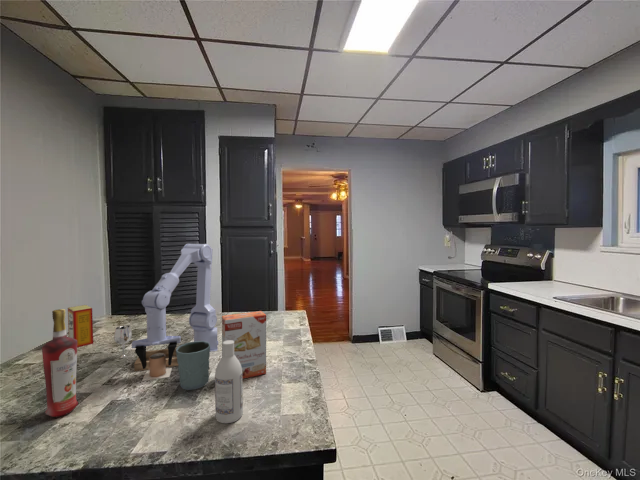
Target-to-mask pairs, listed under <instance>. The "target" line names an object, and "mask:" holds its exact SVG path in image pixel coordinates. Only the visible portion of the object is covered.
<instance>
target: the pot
mask: <svg viewBox="0 0 640 480" xmlns="http://www.w3.org/2000/svg"><path fill="white" fill-rule="evenodd" d="M166 369H167V367H166V355H165V354H164V353H157V354H153V355H151V356H150V357H149V370H148V371H149V376H150V377H159V376H162V375H164V374H165V373H166Z"/></svg>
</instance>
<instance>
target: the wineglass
mask: <svg viewBox="0 0 640 480" xmlns="http://www.w3.org/2000/svg"><path fill="white" fill-rule="evenodd" d="M132 336H133V333H132V329H131V326H130V325H121V326H120V325H119V326H117V327H115V328H114V334H113V339H114V342H115V343H116V344H118V345H121V348H122V355H121V356H120V357H119V358H120V359H125V358H128V355H126V354H125V347H126V345H125V344H127V343H129V342H130V341H131V340H132V338H133V337H132Z"/></svg>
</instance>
